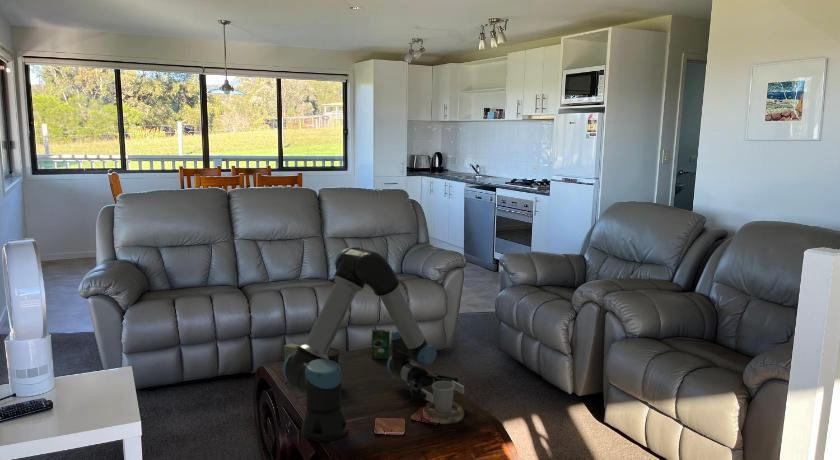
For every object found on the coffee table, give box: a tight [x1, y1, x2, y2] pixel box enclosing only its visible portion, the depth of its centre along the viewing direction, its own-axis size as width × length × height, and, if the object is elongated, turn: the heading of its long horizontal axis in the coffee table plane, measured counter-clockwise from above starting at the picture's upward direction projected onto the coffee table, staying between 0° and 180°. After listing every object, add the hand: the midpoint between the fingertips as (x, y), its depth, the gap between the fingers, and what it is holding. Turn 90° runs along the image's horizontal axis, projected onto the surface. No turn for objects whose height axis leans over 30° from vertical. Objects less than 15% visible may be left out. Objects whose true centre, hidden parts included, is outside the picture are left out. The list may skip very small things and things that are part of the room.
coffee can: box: [327, 347, 341, 367], centre depth 240 cm, size 10×10×14 cm
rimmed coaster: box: [423, 400, 465, 425], centre depth 215 cm, size 15×15×2 cm
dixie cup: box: [431, 381, 455, 414], centre depth 215 cm, size 8×8×10 cm
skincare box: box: [283, 342, 300, 361], centre depth 253 cm, size 6×4×12 cm
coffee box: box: [371, 328, 391, 360], centre depth 271 cm, size 8×3×13 cm, turn 88°
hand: (448, 394), depth 212 cm, fingers open, 13 cm apart
